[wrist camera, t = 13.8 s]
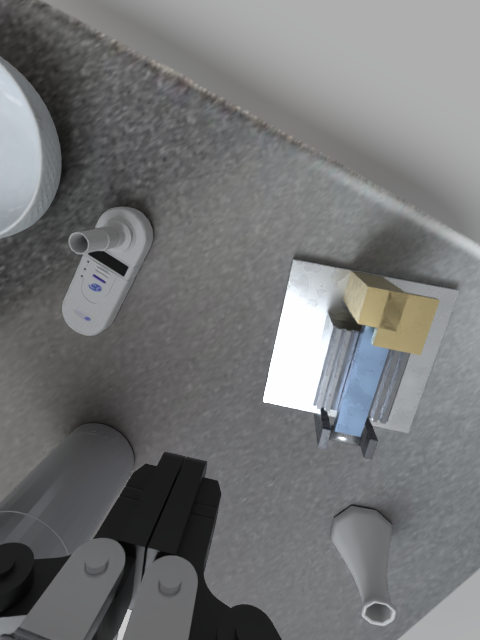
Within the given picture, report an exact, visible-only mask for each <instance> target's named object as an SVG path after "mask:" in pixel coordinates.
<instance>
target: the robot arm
mask: <svg viewBox="0 0 480 640" xmlns="http://www.w3.org/2000/svg"><path fill="white" fill-rule="evenodd" d="M133 466H134V455H133V451H132V448H131V446H130V444H129V443H128V441H127V440H126V439H125V438H124V436H123V435H122V434H120V433H119V432H118V431H117V430H115V429H113V428H111V427H109V426H107V425H103V424H98V423H87V424H84V425H81V426H79V427H77V428H75V429H74V430H73V431H72V432H71V433H70V434H69V435H68V436H67V437H66V438H65V439H64V440H63V441H62V442H61V443H60V444H59V445H58V446H57V447H56V448H55V449H54V450H53V451H52V452H51V453H50V454H49V455H48V456H47V457H46V458H45V459H44V460H43V461H42V462H41V463H40V464H39V465H38V466H37V467H36V468H35V469H34V470H33V471H32V472H31V473H30V474H29V475H28V476H27V477H26V478H25V479H24V480H23V481H22V482H21V483H20V484H19V485H18V486H17V487H16V488H15V489H14V490H13V491H12V492H11V493H10V494H9V495H8V496H7V497H6V498H5V499H4V500H3V501H2V502H1V503H0V640H117V636H118V631H119V629H120V627H121V624H122V622H123V619H124V617H125V614H126V612H127V609H130V610H132V612H131V615H130V619H129V622H128V625H127V628H126V631H125V634H124V637H123V640H282V639H281V638H280V636H279V634H278V632H277V630H276V629H275V627H274V625H273V623H272V622H271V620H270V619H269V617H268V616H267V615H266V614H265V613H264V612H263V611H261V610H260V609H258V608H257V607H254V606H252V605H247V604H241V605H237V606H234V607H232V608H230V607H228V606H227V605H225V604H224V603H222V602H221V601H220V600H218V599H217V598H216V597H215V596H214V595H213V594H212V593H211V592H210V590H209V589H208V587H207V585H206V583H205V579H204V571H205V567H206V563H207V558H208V554H209V550H210V546H211V542H212V538H213V533H214V529H215V524H216V519H217V514H218V508H219V503H220V498H221V491H220V487H219V483H218V481H217V480H212V479H208V478H205V474H206V468H207V461H203V460H199V459H194V458H190V457H185V456H181V455H177V454H173V453H169V452H164V454H163V456H162V457H161V459H160V461H159V463H158V465H157V466H153V465H149V464H145V465H143V466H142V467H141V468H139V469H138V470H137V471H135V472H134V473H133V474H132V476H131V478H130V479H129V481H128V483H127V484H126V487H125V488H124V489H123V491H122V493H121V494H120V497H119V498H118V499H117V501H116V503H115V504H114V506H113V508H112V509H111V511H110V512H109V514H108V516H107V517H106V519H105V521H104V522H103V524H102V526H101V527H100V529H99V531H98V532H97V534H96V536H95V537H94V538H93V539H92V540H90V541H89V539H90V537H91V536H92V534H93V533H94V531H95V529H96V528H97V526H98V524H99V523H100V521H101V520H102V518H103V516H104V515H105V513H106V511H107V510H108V508H109V507H110V505H111V503H112V502H113V500H114V499H115V497H116V496H117V494H118V492H119V491H120V489H121V487H122V486H123V484H124V483H125V481H126V479H127V478H128V476H129V475H130V473H131V471H132V469H133Z"/></svg>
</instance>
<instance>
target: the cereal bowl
mask: <svg viewBox="0 0 480 640" xmlns="http://www.w3.org/2000/svg"><path fill="white" fill-rule="evenodd" d="M61 159H62V158H61V149H60V143H59V139H58V134H57V131H56V128H55V125H54V122H53V120H52V118H51V115H50V113H49V111H48V109H47V107H46V105H45V104H44V102H43V100H42V99H41V97H40V95H39V94H38V93H37V91H36V90H35V89H34V87H33V86H32V85H31V83H30V82H29V81H27V79H26V78H25V77H24V76H23V75H22V74H21V73H20V72H19V71H18V70H17V69H16V68H15V67H13V66H12V65H11V64H10V63H9V62H8V61H6V60H4V59H3V58H2V57H1V56H0V239H1V238H4V237H9V236H11V235H14V234H16V233H18V232H21V231H23V230H24V229H27V228H29V227H30V226H31V225H33V224H34V223H35V222H36V221H38V220H39V219H40V218H41V217H42V216H43V215H44V213H45V212H46V211H47V209H48V208H49V207H50V205H51V203H52V201H53V199H54V197H55V195H56V192H57V190H58V186H59V182H60V177H61V165H62V163H61Z"/></svg>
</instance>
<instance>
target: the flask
mask: <svg viewBox="0 0 480 640" xmlns="http://www.w3.org/2000/svg"><path fill="white" fill-rule="evenodd" d="M391 532H392V524H391V523H389V522H388V521H387V520H386V519H385V518H384V517H383V516H382V515H381V514H379V513H378V512H377V511H376V510H372V509H367V508H361V507H355V506H351V507H349V508H348V509H346V510H345V511H343V512H342V513H341V514H339V515H338V516H336V517H335V518H334V520H333V524H332V529H331V533H330V537H331V539H332V541H333V543H334V544H335V546H336V547H337V549H338V551H339V552H340V554H341V556H342V557H343V559H344V561H345V562H346V564H347V566H348V568H349V569H350V571H351V573H352V575H353V577H354V578H355V581H356V584H357V586H358V589H359V591H360V594H361V598H362V603H363V607H362V610H361V615H362V617H364V618H365V619H366V620H367V621H368V622H369V623H371V624H375V625H380V626H385V625H387V624H389V623H391V622H392V621H394V619H395V616H396V613H397V610H396V607H395V606H394V605H393V604H392V603H391V600H390V596H389V592H388V580H387V568H388V557H389V547H390V540H391Z"/></svg>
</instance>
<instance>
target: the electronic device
mask: <svg viewBox="0 0 480 640" xmlns="http://www.w3.org/2000/svg"><path fill="white" fill-rule="evenodd" d="M152 241H153V229H152V227H151V224H150V222H149V220H148V219H147V218H146V216H145V215H144V214H143V213H142V212H140V211H138V210H137V209H134V208H130V207H115V208H110V209H109V210H107V211H105V212H104V213H103V214H102V215H101V217H100V218H99V220H98V222H97V224H96V226H95V228H94V229H92V230H88V231H81V232H75V233H72V234H71V235H70V237H69V246H70V248H71V250H72V251H74V252H75V253H76V254H83V256H82V259H81V261H80V263H79V266H78V268H77V270H76V273H75V275H74V277H73V280H72V282H71V284H70V287H69V289H68V291H67V293H66V296H65V298H64V300H63V303H62V314H63V317H64V319H65V322H66V323H67V324H68V325H69V326H70V328H72V329H73V330H75V331H76V332H77V333H80V334H82V335H86V336H93V335H96V334H99V333H100V332H102V331H103V330H105V329H106V328H108V327H109V326H110V325H111V324H112V323H113V321H114V319H115V317H116V315H117V313H118V311H119V309H120V307H121V305H122V303H123V301H124V299H125V297H126V295H127V293H128V291H129V289H130V287H131V285H132V283H133V281H134V279H135V277H136V275H137V273H138V271H139V269H140V267H141V265H142V263H143V261H144V259H145V257H146V255H147V253H148V251H149V250H150V248H151V245H152Z"/></svg>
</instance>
